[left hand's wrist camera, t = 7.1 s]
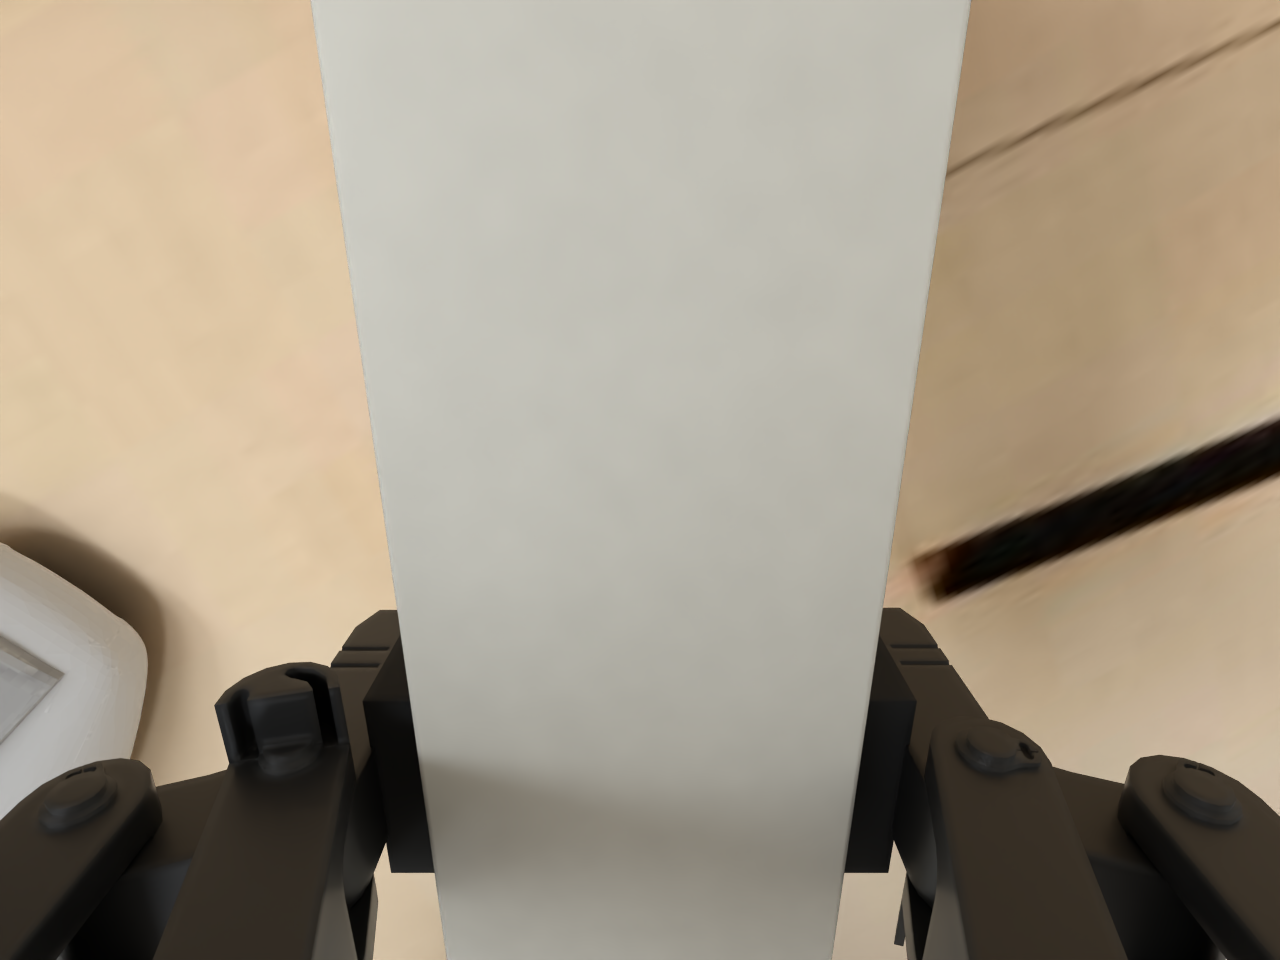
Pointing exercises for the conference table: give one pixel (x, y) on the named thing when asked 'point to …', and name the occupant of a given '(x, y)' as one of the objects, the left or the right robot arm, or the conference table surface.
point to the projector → (61, 679)
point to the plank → (640, 437)
